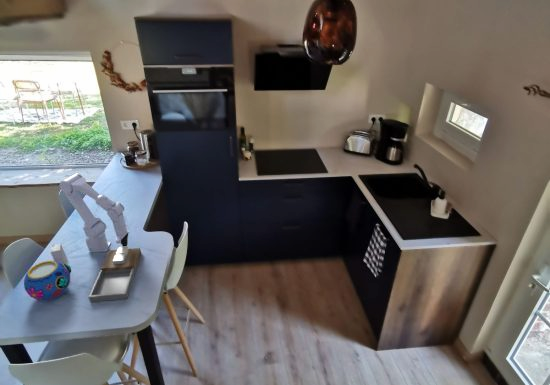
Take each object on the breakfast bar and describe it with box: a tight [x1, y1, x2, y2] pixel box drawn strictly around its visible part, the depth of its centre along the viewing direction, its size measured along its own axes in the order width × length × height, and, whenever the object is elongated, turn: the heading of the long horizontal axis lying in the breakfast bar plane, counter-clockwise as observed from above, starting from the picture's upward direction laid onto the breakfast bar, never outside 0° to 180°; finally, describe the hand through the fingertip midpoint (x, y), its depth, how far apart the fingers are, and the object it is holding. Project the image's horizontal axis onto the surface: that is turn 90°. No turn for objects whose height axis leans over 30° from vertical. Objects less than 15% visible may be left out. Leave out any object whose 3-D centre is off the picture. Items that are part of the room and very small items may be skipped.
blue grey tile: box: [113, 254, 126, 264], centre depth 170 cm, size 5×5×2 cm
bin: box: [88, 268, 137, 303], centre depth 160 cm, size 16×18×4 cm
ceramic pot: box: [23, 260, 72, 302], centre depth 153 cm, size 18×18×15 cm
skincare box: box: [50, 243, 69, 265], centre depth 169 cm, size 6×4×12 cm
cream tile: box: [116, 246, 130, 256], centre depth 175 cm, size 5×5×2 cm
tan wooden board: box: [100, 247, 142, 272], centre depth 173 cm, size 16×14×4 cm
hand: (125, 245), depth 180 cm, fingers closed
